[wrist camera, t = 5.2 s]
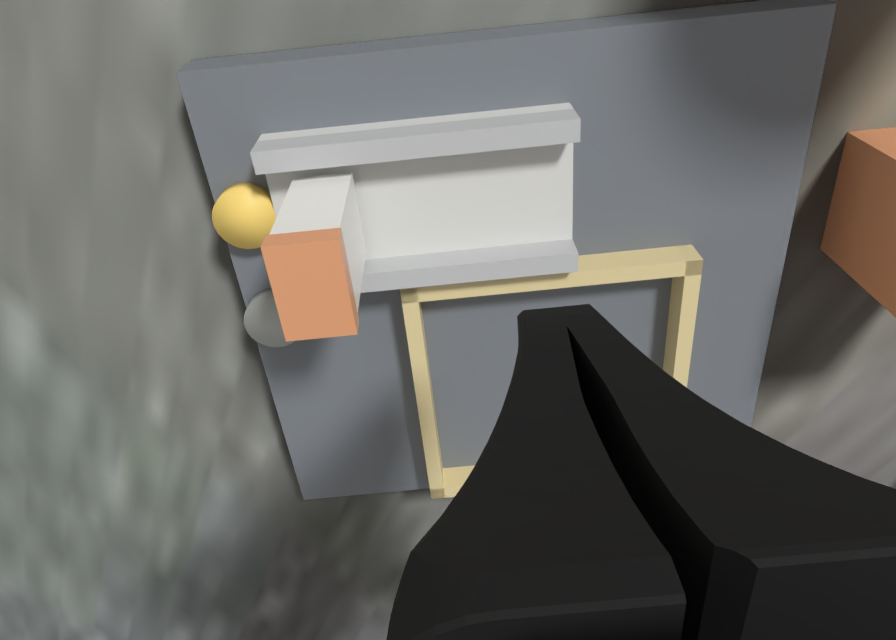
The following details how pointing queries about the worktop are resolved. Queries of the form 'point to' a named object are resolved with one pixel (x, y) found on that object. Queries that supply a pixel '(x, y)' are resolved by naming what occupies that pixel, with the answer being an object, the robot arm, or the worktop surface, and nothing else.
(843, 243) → the cap
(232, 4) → the worktop surface
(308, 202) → the block
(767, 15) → the panel
